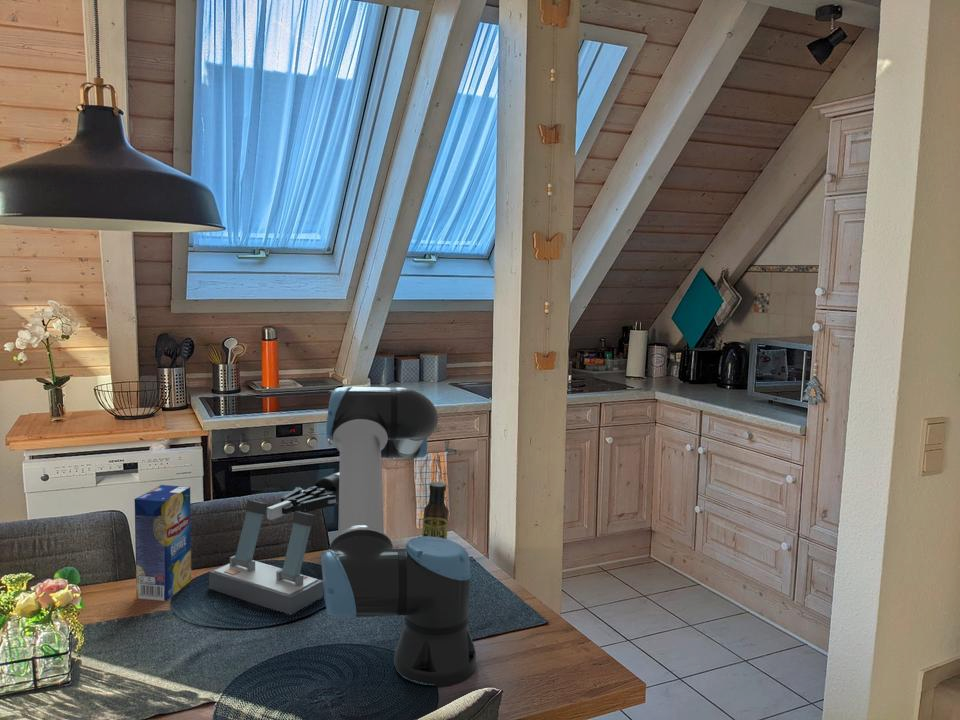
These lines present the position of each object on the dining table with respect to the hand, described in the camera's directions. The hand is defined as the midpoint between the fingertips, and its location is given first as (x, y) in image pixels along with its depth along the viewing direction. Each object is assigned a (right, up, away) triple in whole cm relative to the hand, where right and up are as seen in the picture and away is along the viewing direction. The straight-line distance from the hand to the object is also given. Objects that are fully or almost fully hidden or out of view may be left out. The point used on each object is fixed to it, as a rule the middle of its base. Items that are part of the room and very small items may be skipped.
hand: (269, 513), depth 178 cm
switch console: (+2, -16, -9) cm, 18 cm away
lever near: (+8, -11, -13) cm, 19 cm away
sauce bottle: (+37, -15, +13) cm, 42 cm away
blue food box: (-21, -15, -9) cm, 27 cm away
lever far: (-4, -10, -6) cm, 12 cm away
